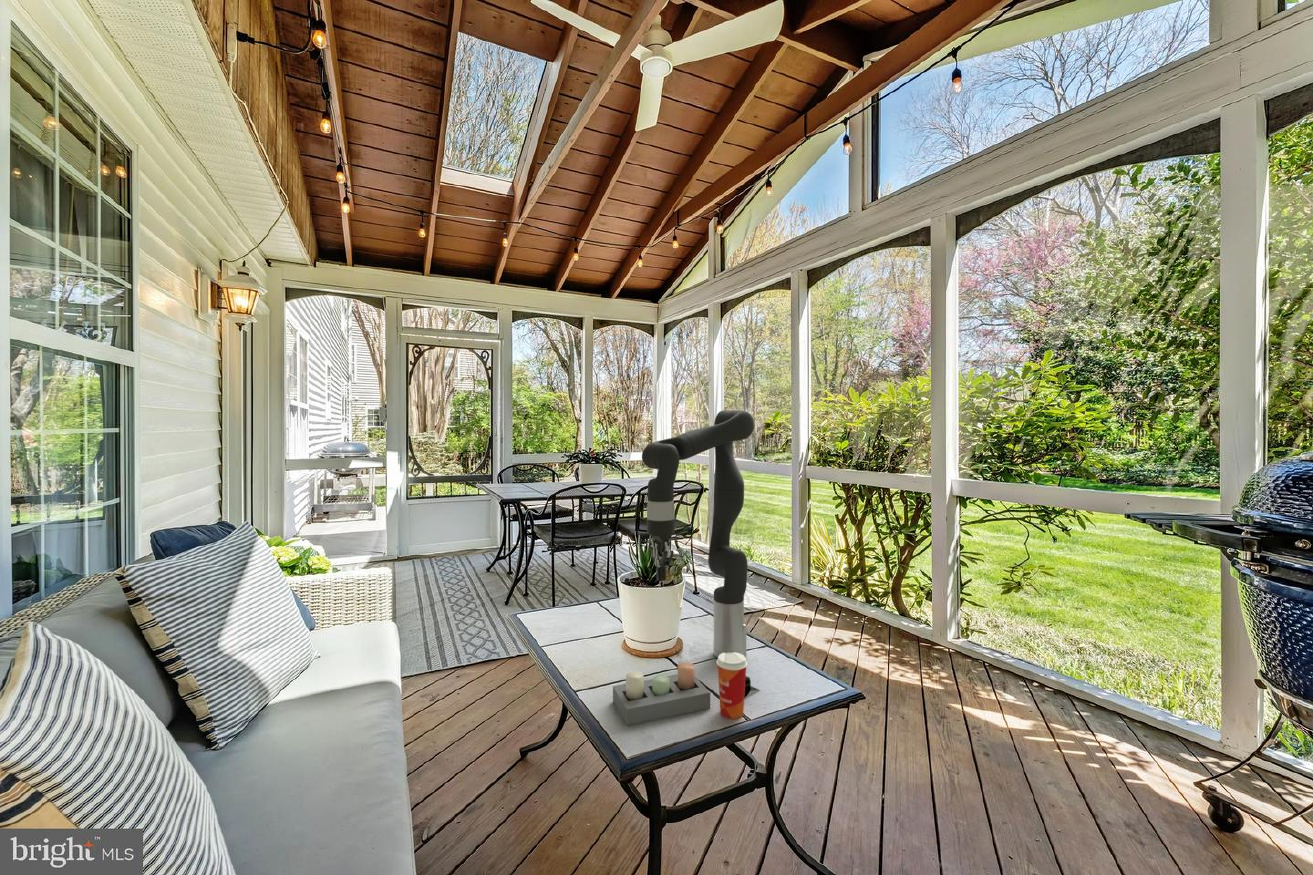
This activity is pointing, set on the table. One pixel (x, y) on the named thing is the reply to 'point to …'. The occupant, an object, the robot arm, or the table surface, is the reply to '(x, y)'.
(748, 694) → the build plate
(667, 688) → the sage button
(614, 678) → the table surface
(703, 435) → the robot arm
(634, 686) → the cream button
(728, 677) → the paper cup
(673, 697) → the button board
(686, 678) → the terracotta button
